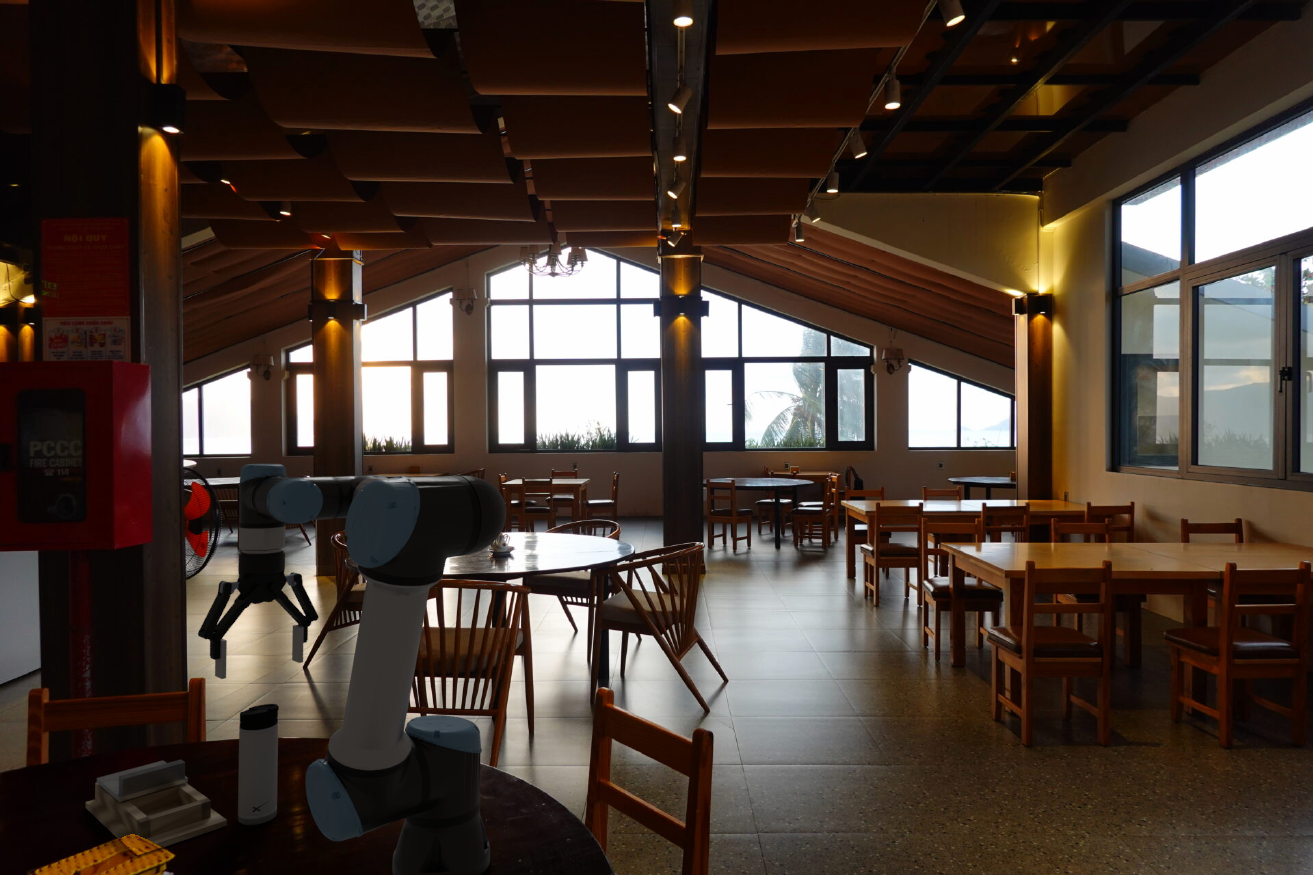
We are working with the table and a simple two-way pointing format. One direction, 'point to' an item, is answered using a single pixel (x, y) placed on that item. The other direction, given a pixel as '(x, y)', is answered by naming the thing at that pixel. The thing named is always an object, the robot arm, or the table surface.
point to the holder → (157, 814)
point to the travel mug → (258, 764)
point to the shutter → (144, 779)
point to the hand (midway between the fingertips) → (260, 669)
